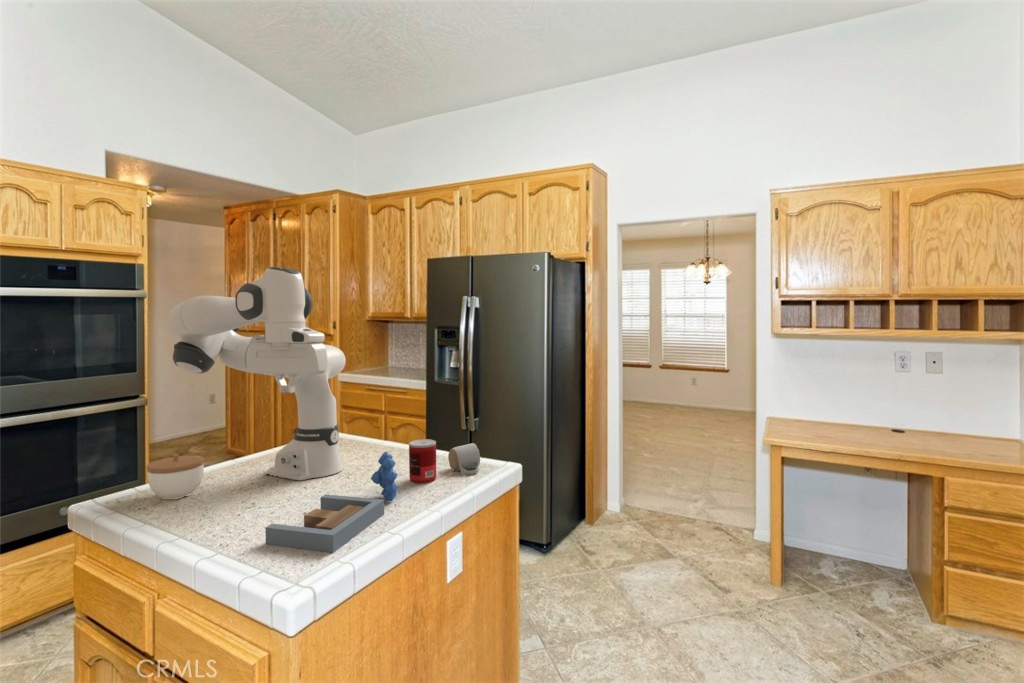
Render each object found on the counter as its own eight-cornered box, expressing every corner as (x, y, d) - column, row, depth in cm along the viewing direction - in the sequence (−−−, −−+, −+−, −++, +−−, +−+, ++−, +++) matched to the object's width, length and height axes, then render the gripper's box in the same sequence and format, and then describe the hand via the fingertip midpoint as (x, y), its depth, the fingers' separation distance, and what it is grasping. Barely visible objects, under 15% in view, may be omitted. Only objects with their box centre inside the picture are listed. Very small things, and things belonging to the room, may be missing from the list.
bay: (265, 544, 100) (265, 527, 100) (325, 508, 120) (325, 494, 120) (333, 552, 96) (333, 535, 96) (384, 514, 116) (384, 499, 116)
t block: (291, 536, 104) (291, 522, 104) (326, 514, 116) (326, 502, 115) (332, 541, 101) (332, 527, 101) (363, 519, 113) (363, 506, 113)
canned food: (439, 475, 145) (438, 439, 145) (432, 484, 137) (431, 445, 137) (414, 475, 146) (413, 438, 145) (406, 483, 138) (405, 445, 137)
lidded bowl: (182, 504, 123) (180, 461, 123) (135, 503, 124) (133, 460, 124) (215, 487, 136) (214, 448, 136) (172, 487, 137) (171, 448, 136)
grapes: (366, 494, 129) (366, 449, 129) (392, 490, 132) (391, 446, 132) (375, 509, 119) (374, 460, 119) (402, 504, 122) (402, 457, 122)
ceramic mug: (447, 468, 153) (446, 444, 152) (470, 464, 157) (470, 440, 156) (460, 477, 143) (460, 452, 143) (485, 473, 147) (485, 448, 147)
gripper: (239, 335, 116) (241, 393, 116) (313, 335, 111) (315, 395, 111) (259, 334, 122) (260, 389, 122) (330, 334, 117) (332, 391, 117)
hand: (287, 392), depth 117 cm, fingers closed
